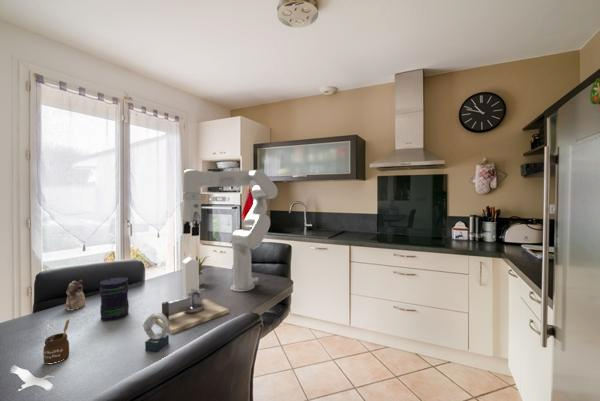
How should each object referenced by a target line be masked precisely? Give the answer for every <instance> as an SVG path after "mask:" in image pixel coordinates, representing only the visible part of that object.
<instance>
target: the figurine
mask: <svg viewBox="0 0 600 401" xmlns="http://www.w3.org/2000/svg"><path fill="white" fill-rule="evenodd" d="M82 283H83V280H82V279H80V280H79V281H76V280H72V282H70V283H69V285H68V287H67V289H66V292H65V293H66V294H67V297H66V300H65V301H66V303H65V307H64V310H65V309H70V310H71V309H77V308H80V309H82V308H84V307H85V306H86V297H85V293H84V292H83V290H84V286H83V284H82ZM79 288H80V289H79ZM84 305H85V306H84ZM83 306H84V307H83ZM81 307H82V308H81ZM77 310H78V309H77Z"/></svg>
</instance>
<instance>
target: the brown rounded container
mask: <svg viewBox="0 0 600 401" xmlns="http://www.w3.org/2000/svg"><path fill="white" fill-rule="evenodd" d="M69 323H70V318H69V319H67V320H66V321H65V325H64V328H63V332H60V333H56V328H55V326H53V325H49V324H47V325H45V327H44V329H43V331H44V334H45V337H46V338H45V339H44V344H45V345H44V346H43V350H42V351H43V353H42V354H43V363H44V364H45V363H54V362H58V361H61V360H63V359H65V358H66V357H69V355H70V342H69V339H68V334H67V333H66V332H67V330H68V327H69ZM48 327H49V328H52V329H51V331H49V329H48ZM45 329H46V330H48V331H46V330H45ZM49 332H51V335H49ZM48 335H49V336H48ZM65 360H66V359H65Z"/></svg>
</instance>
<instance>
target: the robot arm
mask: <svg viewBox="0 0 600 401" xmlns="http://www.w3.org/2000/svg"><path fill="white" fill-rule="evenodd" d="M182 178H183V180H182V181H183V184H182V186H183V187H182V190H183V191H182V201H183V210H182V211H183V212H182V221H183V222H182V225H183V226H182V229H183V231H182V233H183V234H184V235H187V234H188V235H189V234H191V236H192V237H196V236H197V237H198V236H200V226H201V221H202V204H201V198H202V195H201V194H202V192H201V191H202V190H201V189H202V188H214V187H217V188H218V187H220V188H221V187H225V188H233V187H252V188H251V196H252V200H253V201H252V202H253V203H252V206H251V208H250V209H249V211H248V213H247V214H246V216H245V218H244V220H243V223H242V224H243V227H244V228H242V229H241V228H239V229H236V230H234V231H233V232H232V233H231V238H230V242H231V243H230V244H231V247H232V258H233V259H232V262H233V263H232V267H233V268H232V269H233V270H232V272H233V275H232V276H233V281H232V282H233V283H232V284H231V285H230V291H233V292H240V293H241V292H248V291H251V290H253V289H255V284H254V282H258V281H259V277H252V252H251V250H256V249H257V248H259V246H260V245H261V244H262V242H263V241H264V238H265V237H266V235H267V234H268V232H269V229H270V227H271V219H270V217H269V215H267V214H266V213H267V211H268V205H267V200H271V199H275V198H276V197H277V196H278V192H279V191H278V187H277V185H276V184H275V183H274V181H273V180H272V179H271V178H270V177H269V176H268V175H267V174H266V173H265V172H264V171H263V170H261V169H250V170H249V169H248V170H247V169H245V170H244V169H243V170H238V169H237V170H236V169H235V170H234V169H231V170H230V169H229V170H224V171H223V170H221V171H212V170H203V171H202V170H197V169H186V170H184V172H183V176H182Z"/></svg>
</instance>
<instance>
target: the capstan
mask: <svg viewBox="0 0 600 401" xmlns="http://www.w3.org/2000/svg"><path fill="white" fill-rule="evenodd" d="M205 292H206V289H205V288H199V290H196V289H191V292H189V293H188V297H185V298H183V297H181V298H178V299H175V300H172V301H163V302H161V313H162V314H164V315H165V316H166V317H167V319H169V316H171V315H174V314H177V313H181V312H185V313H189V314H191V313H197V312H200V311H202V310H203V309H204V304H202V300H203V293H205ZM189 296H191V297H189Z"/></svg>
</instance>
